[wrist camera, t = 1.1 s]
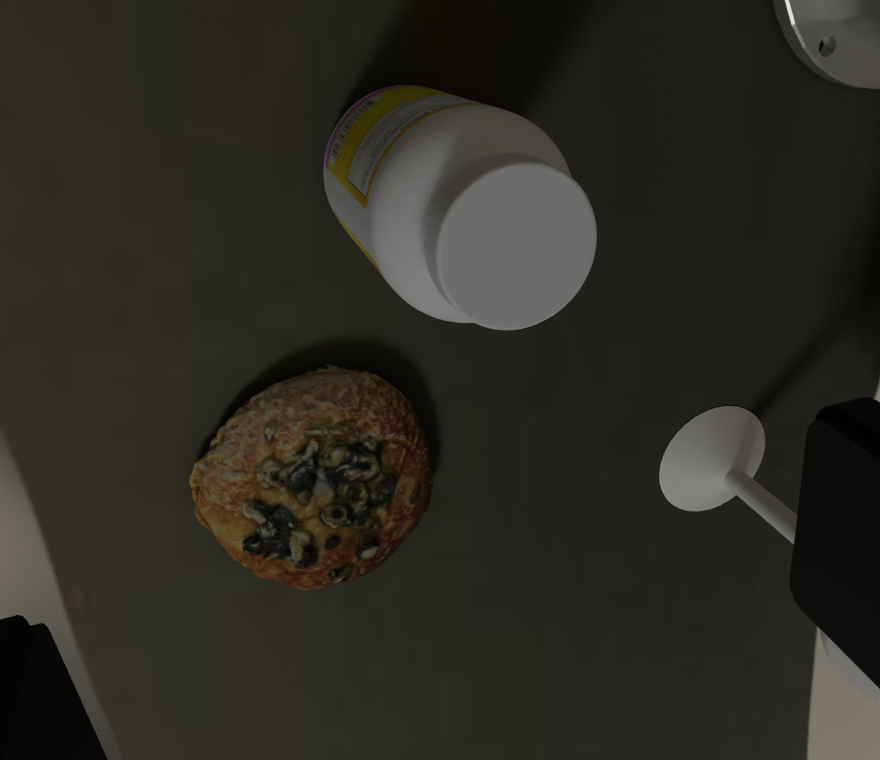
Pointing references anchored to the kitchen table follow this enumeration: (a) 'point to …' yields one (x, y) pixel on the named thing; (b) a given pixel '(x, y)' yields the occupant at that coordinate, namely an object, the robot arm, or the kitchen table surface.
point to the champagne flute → (735, 488)
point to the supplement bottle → (460, 206)
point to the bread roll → (316, 478)
